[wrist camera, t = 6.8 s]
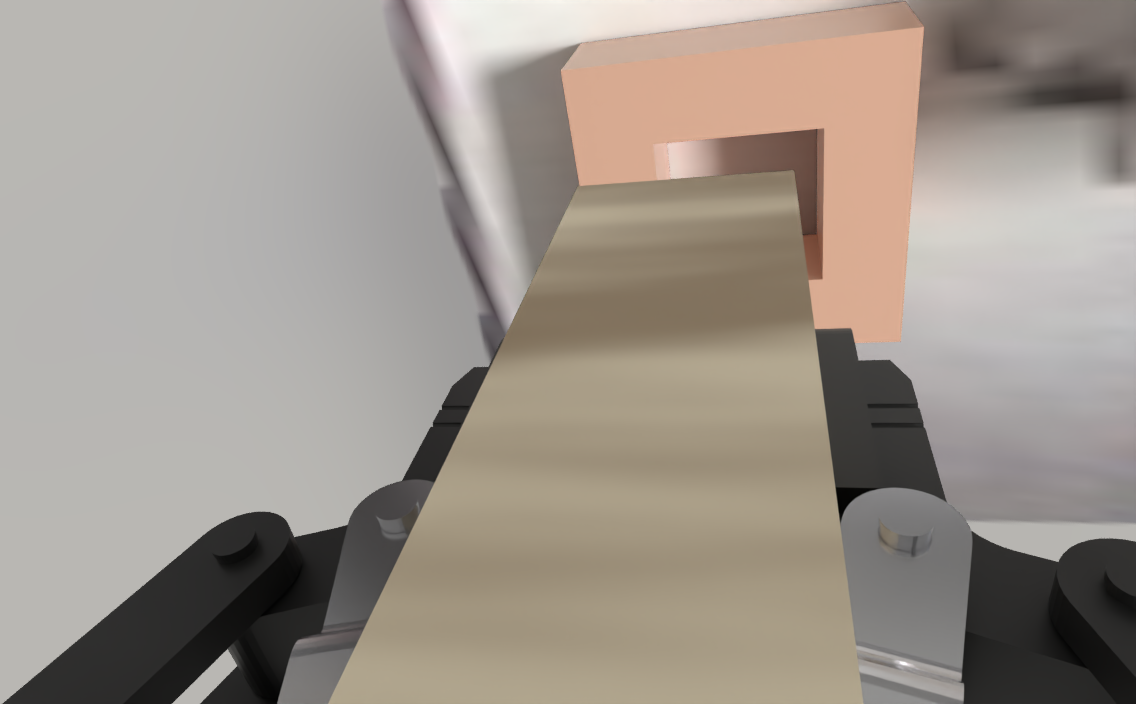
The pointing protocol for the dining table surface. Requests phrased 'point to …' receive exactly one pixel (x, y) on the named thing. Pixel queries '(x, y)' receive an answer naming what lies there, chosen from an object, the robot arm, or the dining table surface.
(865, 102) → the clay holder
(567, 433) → the birch peg
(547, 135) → the dining table surface
